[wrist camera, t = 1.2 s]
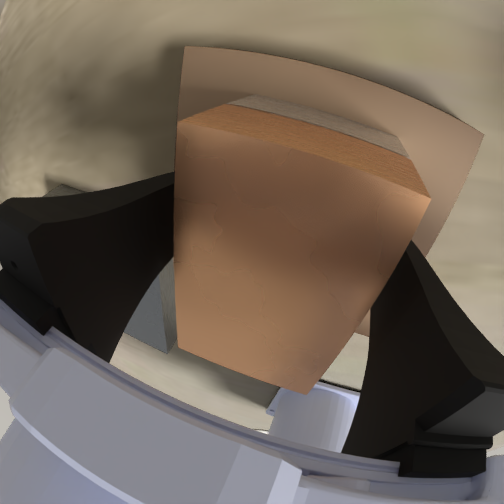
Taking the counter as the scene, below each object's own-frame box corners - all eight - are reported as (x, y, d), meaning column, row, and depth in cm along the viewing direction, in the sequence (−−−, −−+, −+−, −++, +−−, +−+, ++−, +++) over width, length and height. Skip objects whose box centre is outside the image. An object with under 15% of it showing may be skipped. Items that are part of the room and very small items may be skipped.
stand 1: (181, 331, 24) (167, 354, 22) (86, 284, 26) (70, 301, 24) (180, 224, 17) (157, 247, 15) (61, 184, 19) (38, 199, 17)
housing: (327, 301, 13) (306, 395, 10) (227, 266, 14) (178, 347, 10) (397, 137, 8) (431, 199, 5) (255, 94, 9) (177, 122, 5)
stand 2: (372, 304, 16) (370, 337, 14) (194, 242, 17) (173, 268, 16) (461, 120, 9) (484, 134, 7) (213, 47, 10) (184, 46, 9)
